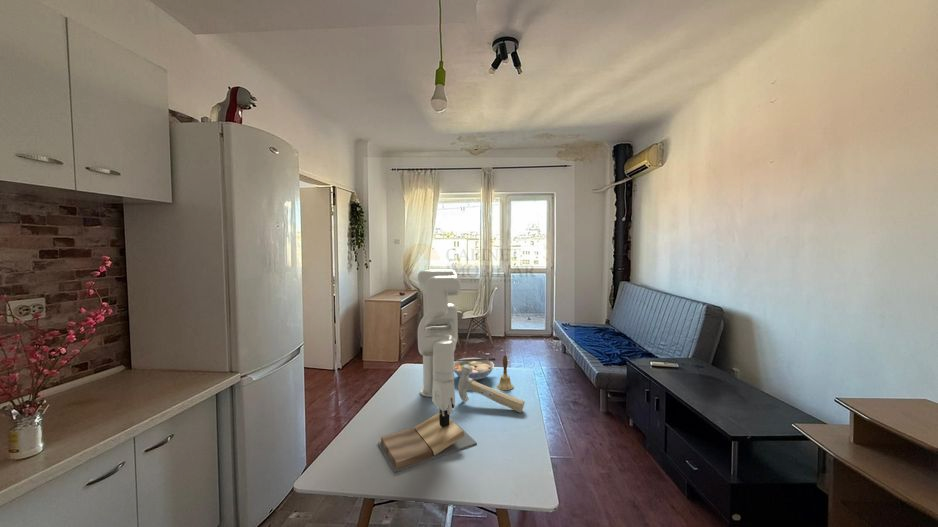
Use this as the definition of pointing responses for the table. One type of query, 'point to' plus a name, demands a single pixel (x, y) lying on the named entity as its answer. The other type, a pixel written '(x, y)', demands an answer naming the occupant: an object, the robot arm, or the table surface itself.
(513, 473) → the table surface
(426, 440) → the oak plank
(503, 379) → the hand bell
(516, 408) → the hammer
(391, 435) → the floor section
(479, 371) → the ramen bowl
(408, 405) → the table surface
